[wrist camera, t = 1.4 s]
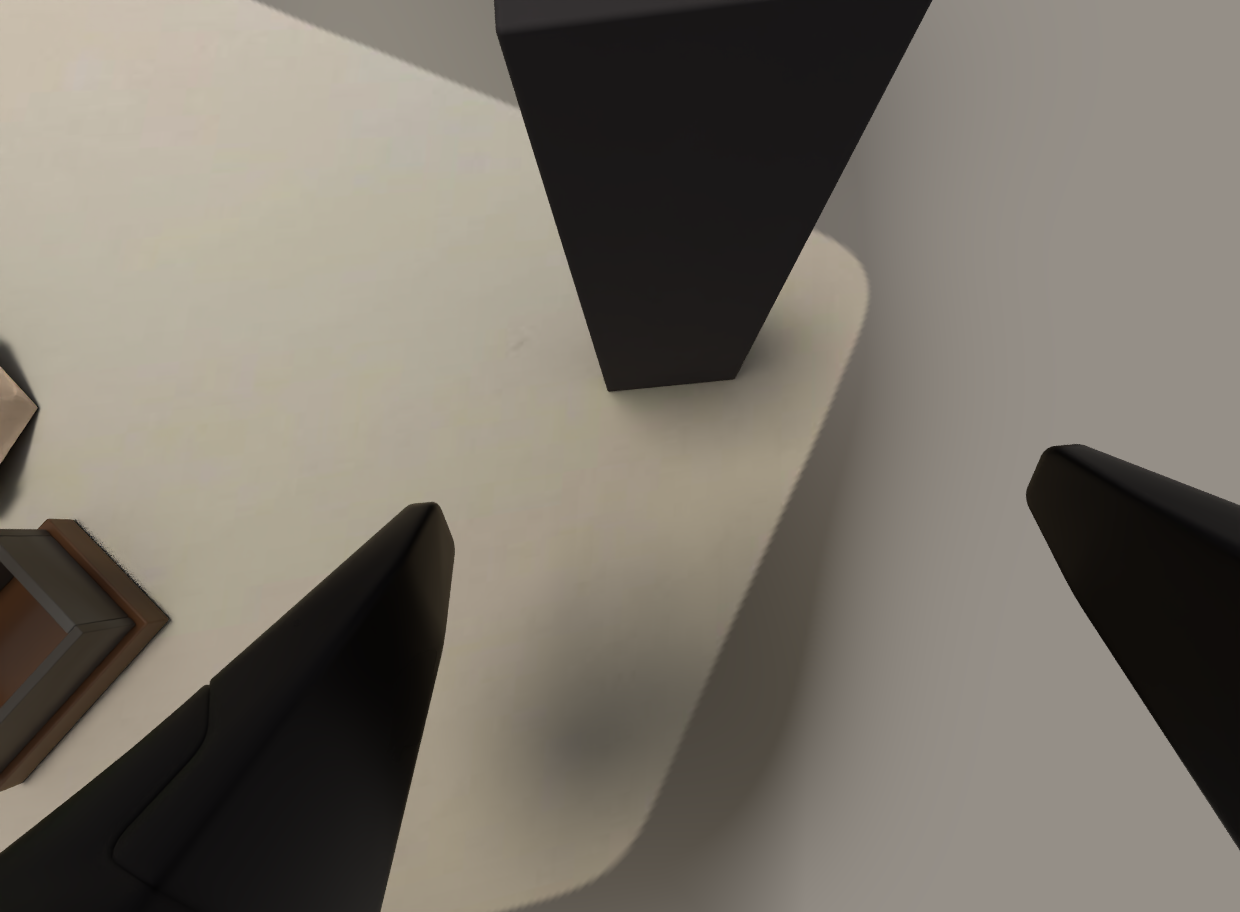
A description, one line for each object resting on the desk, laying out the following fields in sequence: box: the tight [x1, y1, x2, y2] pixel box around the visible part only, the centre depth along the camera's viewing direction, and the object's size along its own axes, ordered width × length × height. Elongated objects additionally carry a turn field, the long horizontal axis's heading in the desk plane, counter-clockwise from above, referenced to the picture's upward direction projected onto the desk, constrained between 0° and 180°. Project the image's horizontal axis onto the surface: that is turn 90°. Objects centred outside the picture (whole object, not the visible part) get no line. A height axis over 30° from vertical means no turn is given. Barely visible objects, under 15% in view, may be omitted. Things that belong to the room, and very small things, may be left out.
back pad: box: [494, 0, 932, 391], centre depth 14 cm, size 3×5×16 cm, turn 95°
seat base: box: [0, 519, 169, 791], centre depth 20 cm, size 6×8×3 cm
